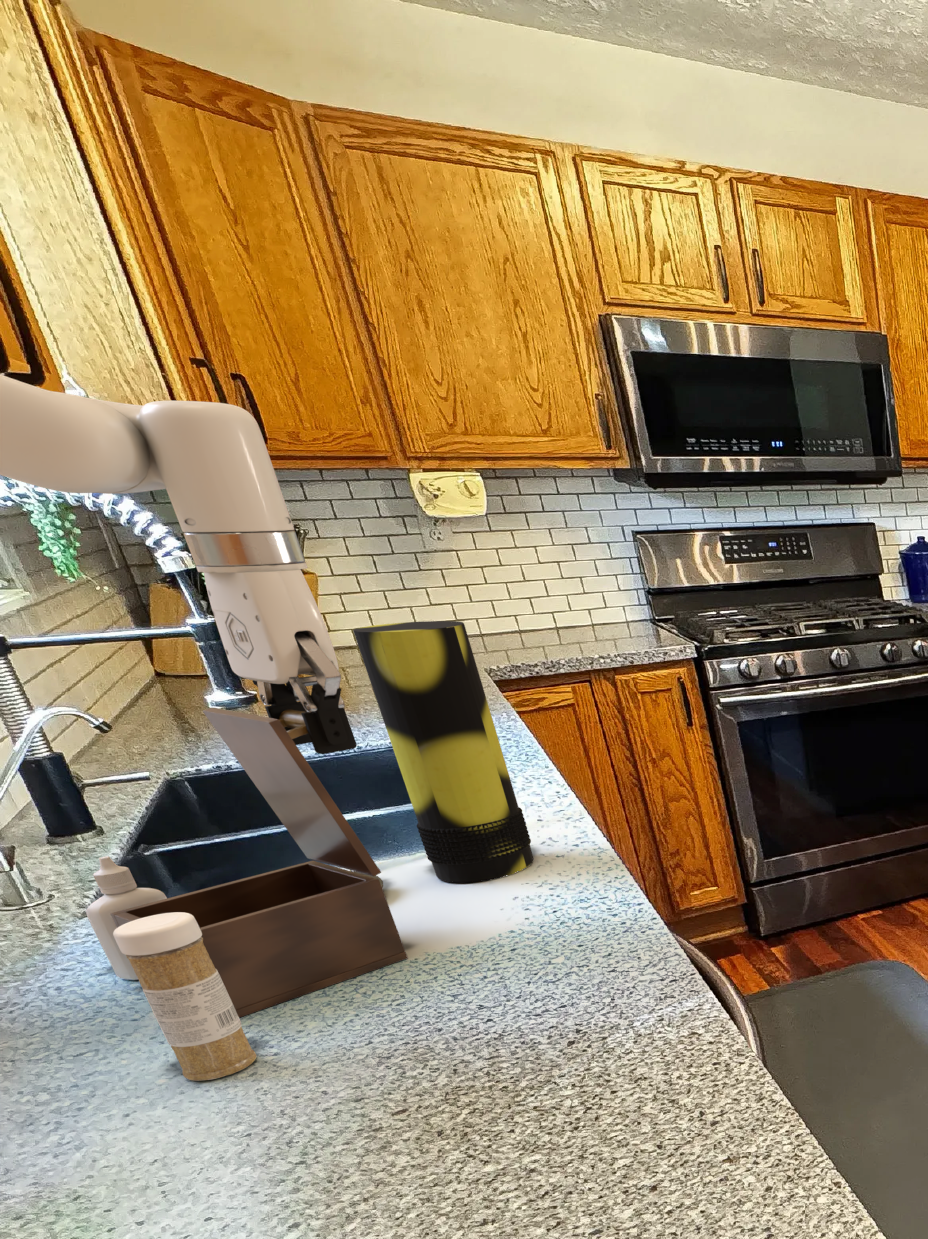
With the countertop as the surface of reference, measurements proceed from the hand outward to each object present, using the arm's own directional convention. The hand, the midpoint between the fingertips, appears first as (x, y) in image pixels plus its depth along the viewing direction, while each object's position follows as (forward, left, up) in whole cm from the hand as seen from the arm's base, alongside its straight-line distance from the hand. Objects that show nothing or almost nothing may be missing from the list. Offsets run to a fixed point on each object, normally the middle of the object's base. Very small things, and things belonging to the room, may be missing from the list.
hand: (318, 745), depth 97 cm
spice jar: (-20, -16, -21) cm, 34 cm away
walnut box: (-9, 0, -21) cm, 23 cm away
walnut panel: (-4, 0, -4) cm, 6 cm away
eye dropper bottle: (-14, +14, -21) cm, 29 cm away
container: (+18, +14, -21) cm, 31 cm away
